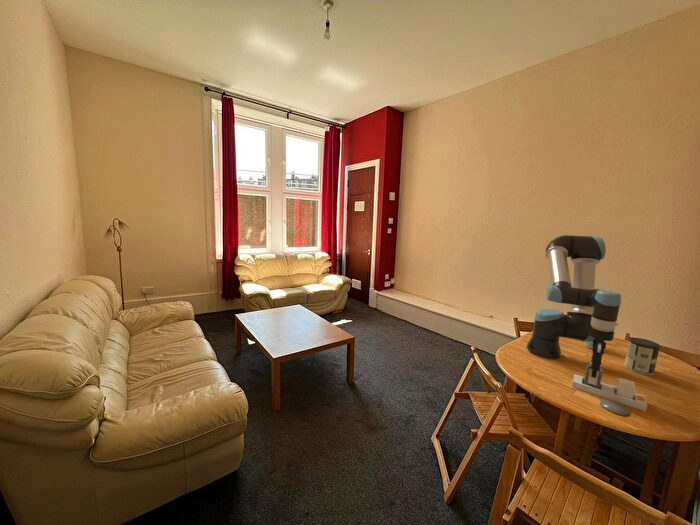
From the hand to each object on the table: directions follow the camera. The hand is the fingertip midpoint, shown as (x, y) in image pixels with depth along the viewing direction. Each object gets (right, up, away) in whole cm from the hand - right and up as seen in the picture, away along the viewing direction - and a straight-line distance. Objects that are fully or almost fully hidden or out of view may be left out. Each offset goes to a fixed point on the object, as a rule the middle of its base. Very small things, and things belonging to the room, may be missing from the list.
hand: (592, 380), depth 118 cm
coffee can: (+38, -2, +18) cm, 42 cm away
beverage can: (+34, +2, +39) cm, 52 cm away
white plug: (+7, -3, -6) cm, 10 cm away
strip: (+4, -4, -3) cm, 6 cm away
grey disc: (-1, -6, -11) cm, 13 cm away
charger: (0, -2, 0) cm, 2 cm away
